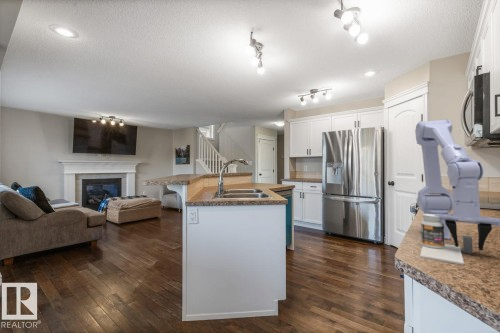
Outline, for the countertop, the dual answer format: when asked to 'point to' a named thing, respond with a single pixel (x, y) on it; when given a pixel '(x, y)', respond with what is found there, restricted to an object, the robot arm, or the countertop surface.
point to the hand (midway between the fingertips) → (468, 247)
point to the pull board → (448, 252)
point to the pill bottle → (432, 231)
